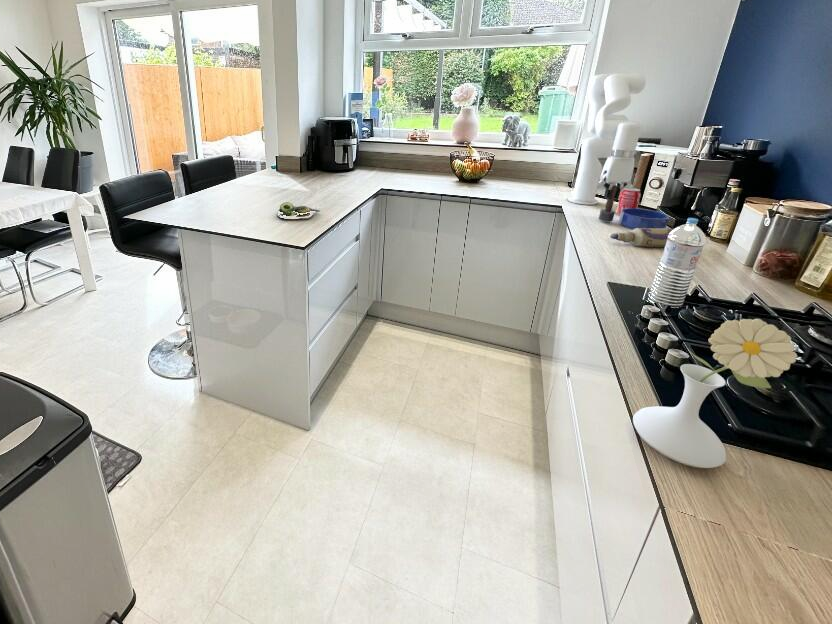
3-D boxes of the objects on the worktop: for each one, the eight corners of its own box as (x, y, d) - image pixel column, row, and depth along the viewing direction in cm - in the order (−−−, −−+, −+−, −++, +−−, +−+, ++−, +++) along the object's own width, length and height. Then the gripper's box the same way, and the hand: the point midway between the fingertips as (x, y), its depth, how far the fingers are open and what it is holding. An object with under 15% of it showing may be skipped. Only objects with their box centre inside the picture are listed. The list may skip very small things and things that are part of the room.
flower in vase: (616, 433, 66) (662, 302, 57) (648, 407, 72) (694, 283, 63) (720, 498, 56) (795, 350, 47) (748, 462, 61) (820, 322, 52)
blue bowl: (610, 220, 172) (613, 208, 170) (645, 220, 172) (649, 208, 170) (636, 232, 158) (640, 219, 156) (674, 232, 157) (678, 219, 155)
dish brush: (595, 217, 172) (604, 183, 167) (607, 217, 172) (616, 183, 167) (603, 221, 167) (612, 186, 162) (615, 221, 167) (625, 186, 162)
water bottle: (662, 304, 105) (693, 214, 97) (685, 318, 99) (721, 223, 90) (637, 305, 105) (666, 214, 96) (659, 318, 99) (692, 223, 90)
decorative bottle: (679, 243, 146) (685, 226, 144) (693, 251, 139) (700, 233, 137) (602, 240, 150) (607, 223, 147) (613, 247, 143) (618, 230, 140)
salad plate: (320, 209, 190) (320, 200, 189) (319, 220, 174) (318, 210, 172) (280, 209, 191) (280, 199, 190) (275, 220, 175) (274, 210, 173)
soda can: (628, 213, 181) (635, 187, 177) (638, 217, 175) (646, 191, 171) (611, 212, 182) (618, 187, 178) (621, 217, 176) (628, 190, 171)
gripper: (635, 152, 163) (623, 196, 170) (596, 152, 164) (586, 196, 170) (649, 155, 156) (636, 200, 163) (608, 155, 157) (597, 200, 163)
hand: (611, 198), depth 166 cm, fingers closed on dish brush, 2 cm apart
